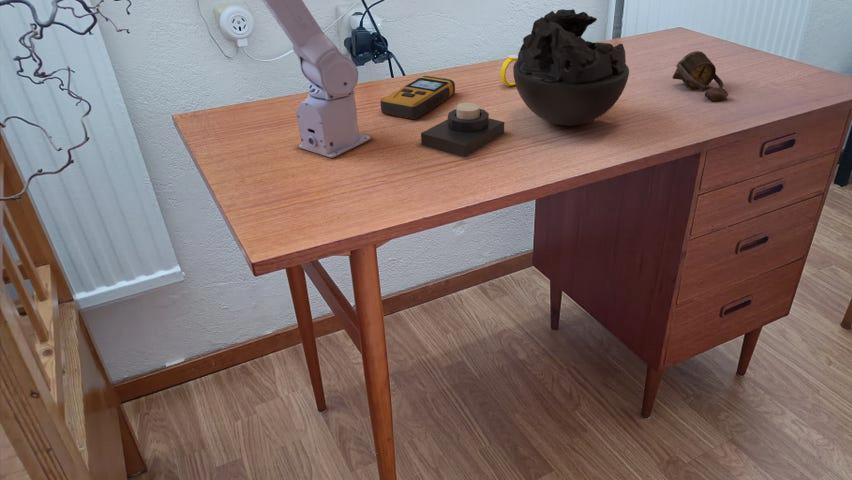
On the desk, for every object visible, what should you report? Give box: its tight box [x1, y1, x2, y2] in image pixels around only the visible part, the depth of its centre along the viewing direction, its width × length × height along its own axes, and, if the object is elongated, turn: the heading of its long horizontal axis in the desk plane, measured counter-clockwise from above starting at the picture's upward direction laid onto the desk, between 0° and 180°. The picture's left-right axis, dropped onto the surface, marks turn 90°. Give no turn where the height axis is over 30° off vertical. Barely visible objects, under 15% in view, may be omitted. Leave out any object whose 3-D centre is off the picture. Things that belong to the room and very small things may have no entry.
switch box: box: [420, 108, 505, 158], centre depth 112 cm, size 12×9×4 cm
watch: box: [499, 54, 518, 87], centre depth 135 cm, size 6×3×6 cm, turn 128°
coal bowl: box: [512, 8, 630, 127], centre depth 114 cm, size 20×20×19 cm
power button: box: [455, 102, 481, 120], centre depth 112 cm, size 4×4×2 cm
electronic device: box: [379, 75, 456, 120], centre depth 126 cm, size 8×16×3 cm, turn 154°
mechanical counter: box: [672, 50, 729, 102], centre depth 131 cm, size 7×13×10 cm
